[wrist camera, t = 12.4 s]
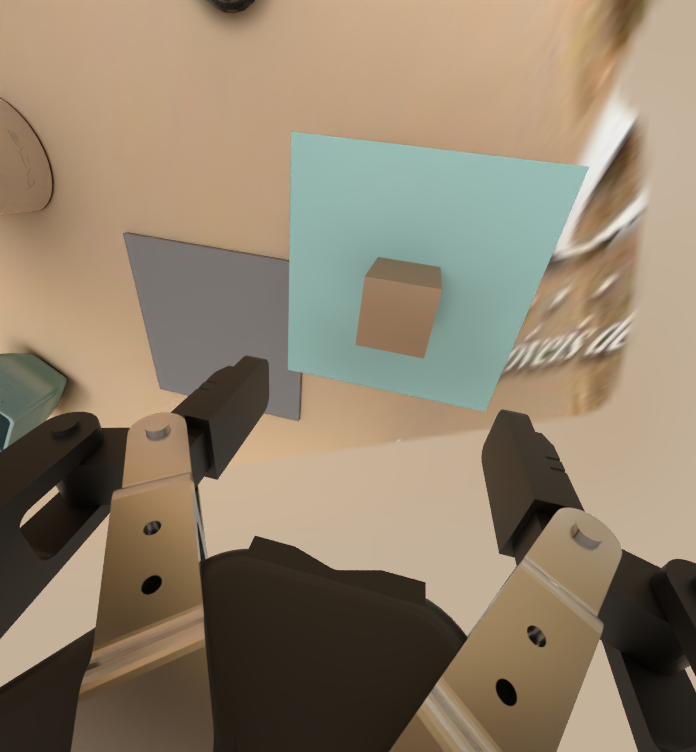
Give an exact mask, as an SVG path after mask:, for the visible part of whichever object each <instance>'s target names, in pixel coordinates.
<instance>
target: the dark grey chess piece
mask: <svg viewBox="0 0 696 752" xmlns="http://www.w3.org/2000/svg"><path fill="white" fill-rule="evenodd" d="M208 1H209V2H210V3H211V4H212V5H213V6H214V7H216V8H218V9H220V10H222V11H224V12H229V13H236V12H239V11H242V10H245V9H246V8H247V7H248V6H249V5H251V4H252V3H253V1H254V0H208Z"/></svg>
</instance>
